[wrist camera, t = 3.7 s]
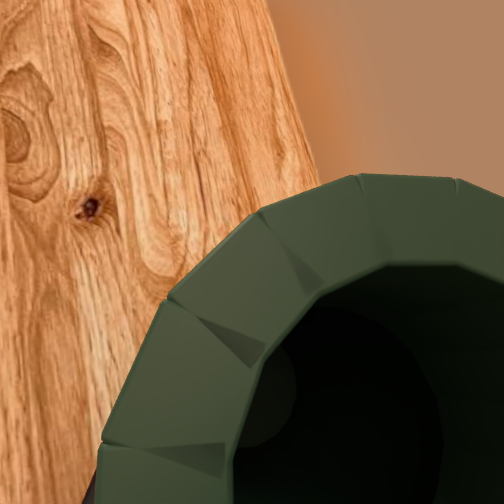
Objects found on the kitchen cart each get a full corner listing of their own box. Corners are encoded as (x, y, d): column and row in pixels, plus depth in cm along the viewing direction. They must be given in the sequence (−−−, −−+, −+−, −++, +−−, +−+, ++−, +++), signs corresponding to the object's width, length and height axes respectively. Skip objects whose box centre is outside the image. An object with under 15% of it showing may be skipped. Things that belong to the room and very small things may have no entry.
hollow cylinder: (308, 451, 16) (909, 909, 3) (173, 463, 15) (34, 1295, 2) (297, 318, 17) (632, 183, 4) (175, 321, 16) (116, 159, 3)
